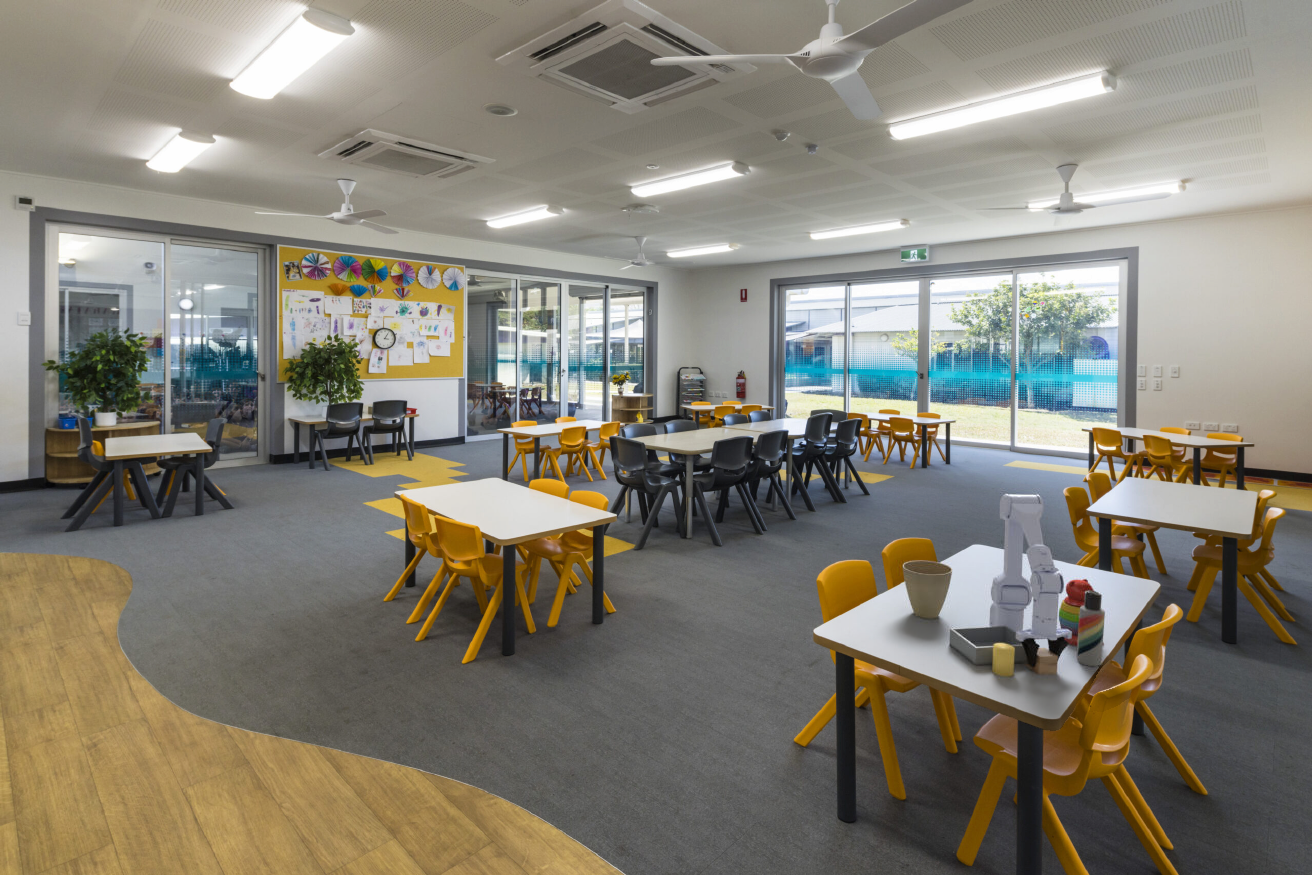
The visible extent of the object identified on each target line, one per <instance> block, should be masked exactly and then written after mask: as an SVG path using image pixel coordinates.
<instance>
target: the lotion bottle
mask: <svg viewBox="0 0 1312 875" xmlns="http://www.w3.org/2000/svg"><path fill="white" fill-rule="evenodd" d="M1102 598H1103V596H1102V593H1100V592H1098V591H1095V590H1094V591H1091V590H1087V591H1086V592H1085V603H1084V606H1081V607H1080V615H1079V630H1078V646H1076V647H1077V649H1076V661H1077V662H1078V663H1080V664H1082V665H1084V666H1087V665H1088V666H1089V667H1099V666H1098V665H1100V666H1101V665H1102V659H1103V648H1104V645H1103V644H1104V635H1105V634H1104V632H1105V630H1104V629H1105V618H1106V617H1105V615H1106V612H1105V610H1104V609H1103V608H1102Z"/></svg>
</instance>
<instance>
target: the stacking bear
mask: <svg viewBox="0 0 1312 875" xmlns="http://www.w3.org/2000/svg"><path fill="white" fill-rule="evenodd" d="M1087 590H1091V591H1095V590H1094V588H1093V587H1092V585H1091V584H1090V583H1089V581H1088V579H1087V578H1083V579H1072V580H1070V581H1068V582H1067V583H1066V586H1065V592H1066V594H1067V596H1066V597H1065V598H1064V599H1063V600H1062V601H1061V603H1060V607H1059V608H1058V621H1059V626H1060V628H1059V629H1068V630H1070V631H1071V632H1072V638H1071V639H1067V638H1065V640H1066V641H1068V645H1071V646H1076V647H1077V646H1078V630H1079V615H1080V607H1081V606H1084V603H1085V592H1086V591H1087Z"/></svg>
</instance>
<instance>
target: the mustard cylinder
mask: <svg viewBox="0 0 1312 875" xmlns="http://www.w3.org/2000/svg"><path fill="white" fill-rule="evenodd" d="M1014 654H1015V648H1014V647H1013V646H1011V645H1009V644H1005V643H995V644H994V646H993V665H992V670H991V671H992V672H993V673H994V674H995V675H996V676H1001V677H1006V678H1007V677H1008V678H1009V677H1012V676H1014V672H1015V671H1014V668H1015V663H1014Z"/></svg>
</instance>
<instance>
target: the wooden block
mask: <svg viewBox="0 0 1312 875" xmlns="http://www.w3.org/2000/svg"><path fill="white" fill-rule="evenodd" d="M1058 662H1059V659H1058V656H1057V655H1056V654H1054V653H1053V652H1051V651H1050V650H1049V648H1047V647H1039V649H1038V652H1037V656H1036V665H1035V667H1032V666H1030V665H1029V664H1028V662H1027V663H1026V667H1027V668H1028V669H1030V670H1031V671H1033V672H1035V673H1036V675H1037V674H1038V675H1039V676H1041V675H1042V676H1043V675H1055V674H1058Z"/></svg>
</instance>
